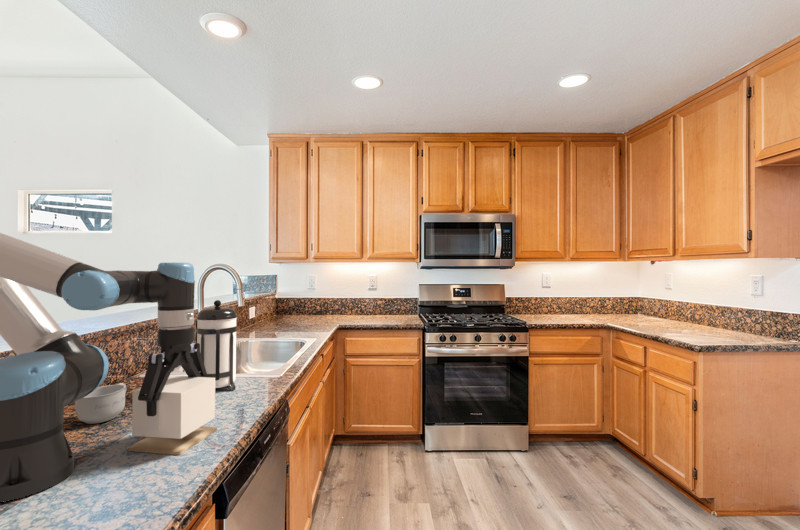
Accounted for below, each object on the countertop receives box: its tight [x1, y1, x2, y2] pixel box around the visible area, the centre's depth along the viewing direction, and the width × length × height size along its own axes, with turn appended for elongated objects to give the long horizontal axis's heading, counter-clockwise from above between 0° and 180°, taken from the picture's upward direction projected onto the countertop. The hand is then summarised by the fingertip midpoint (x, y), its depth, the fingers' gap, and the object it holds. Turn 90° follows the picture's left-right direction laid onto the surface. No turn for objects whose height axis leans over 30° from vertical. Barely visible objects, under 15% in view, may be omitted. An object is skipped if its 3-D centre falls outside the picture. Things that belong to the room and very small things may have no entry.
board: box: [126, 426, 218, 456], centre depth 90 cm, size 13×13×1 cm
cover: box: [131, 375, 216, 439], centre depth 90 cm, size 12×12×10 cm
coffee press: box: [195, 299, 239, 391], centre depth 128 cm, size 17×16×30 cm
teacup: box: [74, 382, 127, 425], centre depth 103 cm, size 14×11×8 cm
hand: (175, 418), depth 90 cm, fingers closed on cover, 12 cm apart
